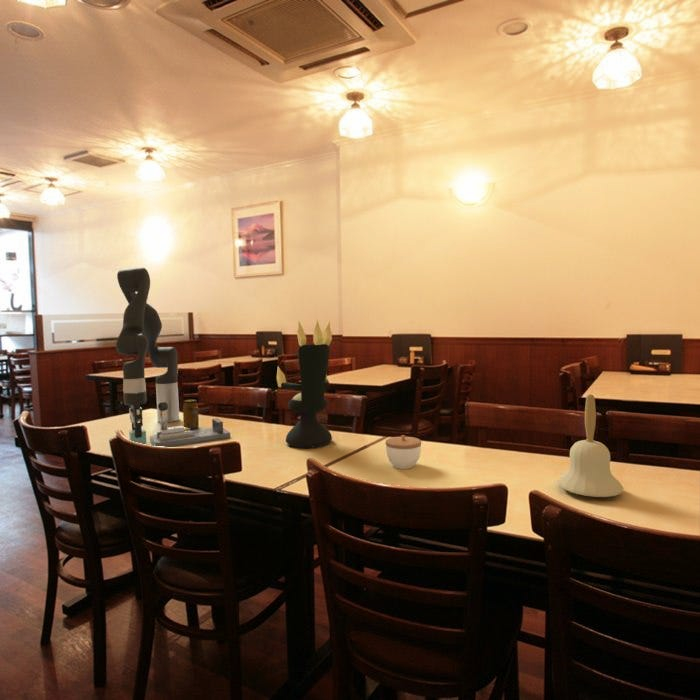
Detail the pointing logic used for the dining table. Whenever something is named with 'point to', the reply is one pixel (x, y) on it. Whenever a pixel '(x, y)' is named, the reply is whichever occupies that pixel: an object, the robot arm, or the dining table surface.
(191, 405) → the condiment
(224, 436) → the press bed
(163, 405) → the ram
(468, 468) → the dining table surface
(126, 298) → the robot arm
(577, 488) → the handbell
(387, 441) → the lidded jar
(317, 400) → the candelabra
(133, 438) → the housing
